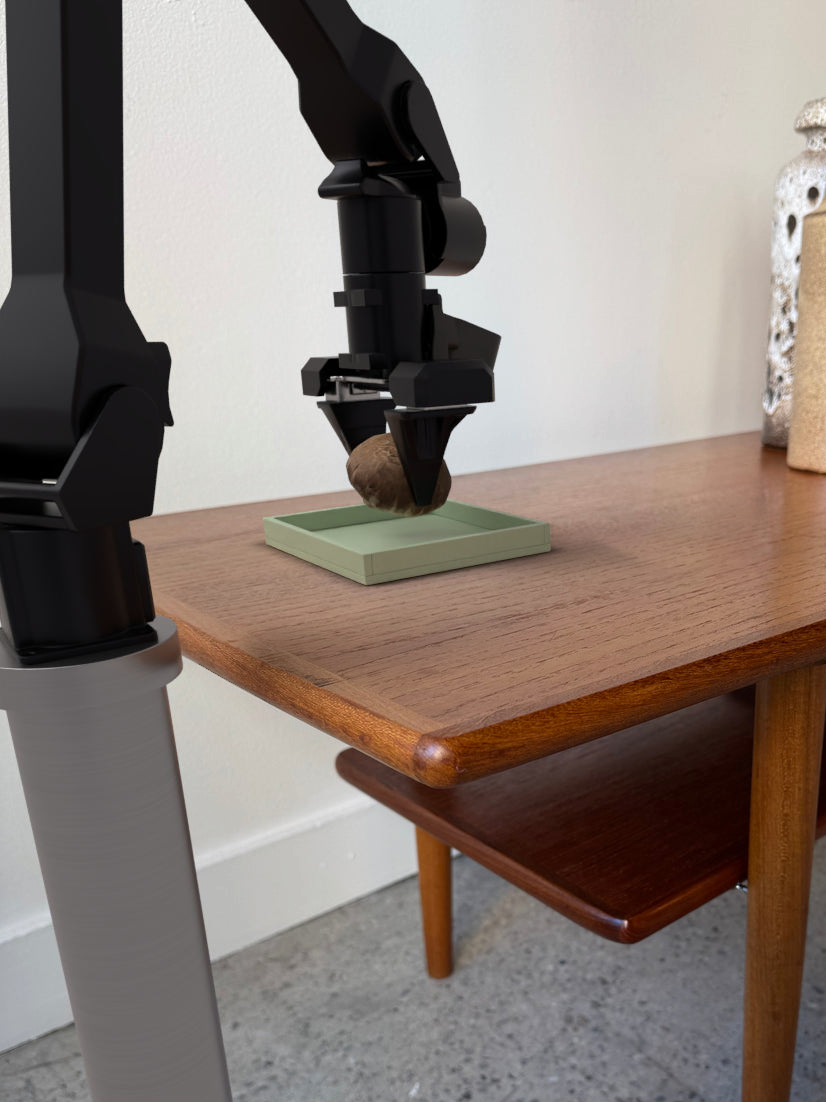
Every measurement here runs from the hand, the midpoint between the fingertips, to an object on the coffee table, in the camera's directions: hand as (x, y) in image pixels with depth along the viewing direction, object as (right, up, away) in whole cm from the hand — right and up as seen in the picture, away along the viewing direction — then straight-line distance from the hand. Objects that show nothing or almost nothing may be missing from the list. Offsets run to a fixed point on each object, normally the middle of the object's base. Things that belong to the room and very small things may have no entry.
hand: (399, 499), depth 78 cm
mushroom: (0, -1, 0) cm, 1 cm away
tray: (0, -3, +1) cm, 4 cm away
